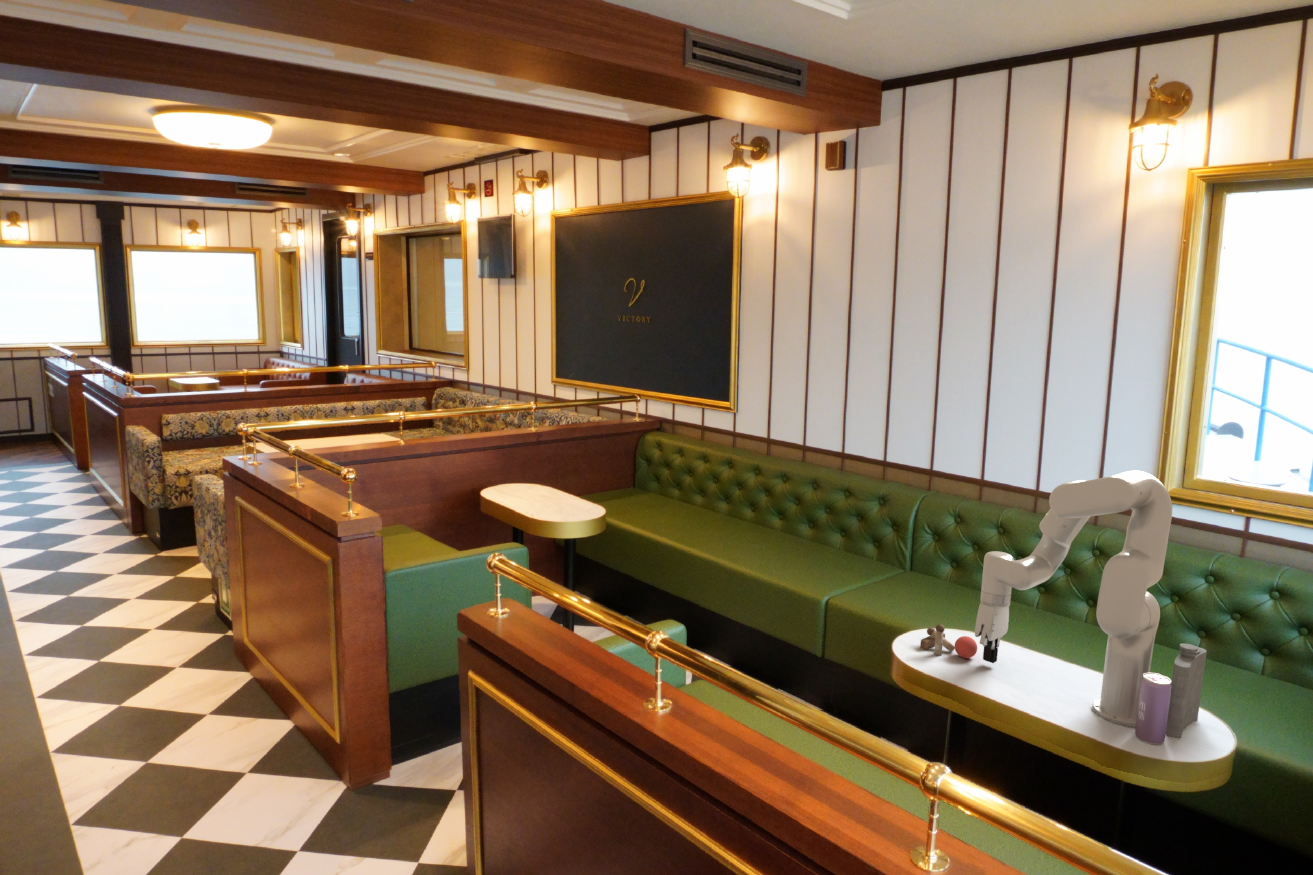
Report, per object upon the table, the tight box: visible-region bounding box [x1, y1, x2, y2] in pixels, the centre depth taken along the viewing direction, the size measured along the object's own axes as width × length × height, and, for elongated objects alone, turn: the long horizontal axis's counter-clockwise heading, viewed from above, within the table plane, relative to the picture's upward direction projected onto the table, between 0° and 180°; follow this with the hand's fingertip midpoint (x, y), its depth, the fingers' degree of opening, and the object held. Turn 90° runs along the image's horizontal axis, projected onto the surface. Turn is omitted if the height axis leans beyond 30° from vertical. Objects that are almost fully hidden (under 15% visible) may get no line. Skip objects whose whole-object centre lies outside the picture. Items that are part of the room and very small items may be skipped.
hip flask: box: [1165, 642, 1207, 739], centre depth 193 cm, size 16×4×20 cm, turn 132°
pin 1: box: [933, 623, 945, 657], centre depth 231 cm, size 2×2×9 cm
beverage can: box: [1134, 672, 1172, 746], centre depth 186 cm, size 6×6×15 cm
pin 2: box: [926, 627, 955, 653], centre depth 235 cm, size 2×2×9 cm
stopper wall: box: [919, 632, 946, 651], centre depth 238 cm, size 2×10×2 cm, turn 130°
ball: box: [954, 635, 978, 659], centre depth 229 cm, size 6×6×6 cm
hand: (989, 660), depth 224 cm, fingers closed
